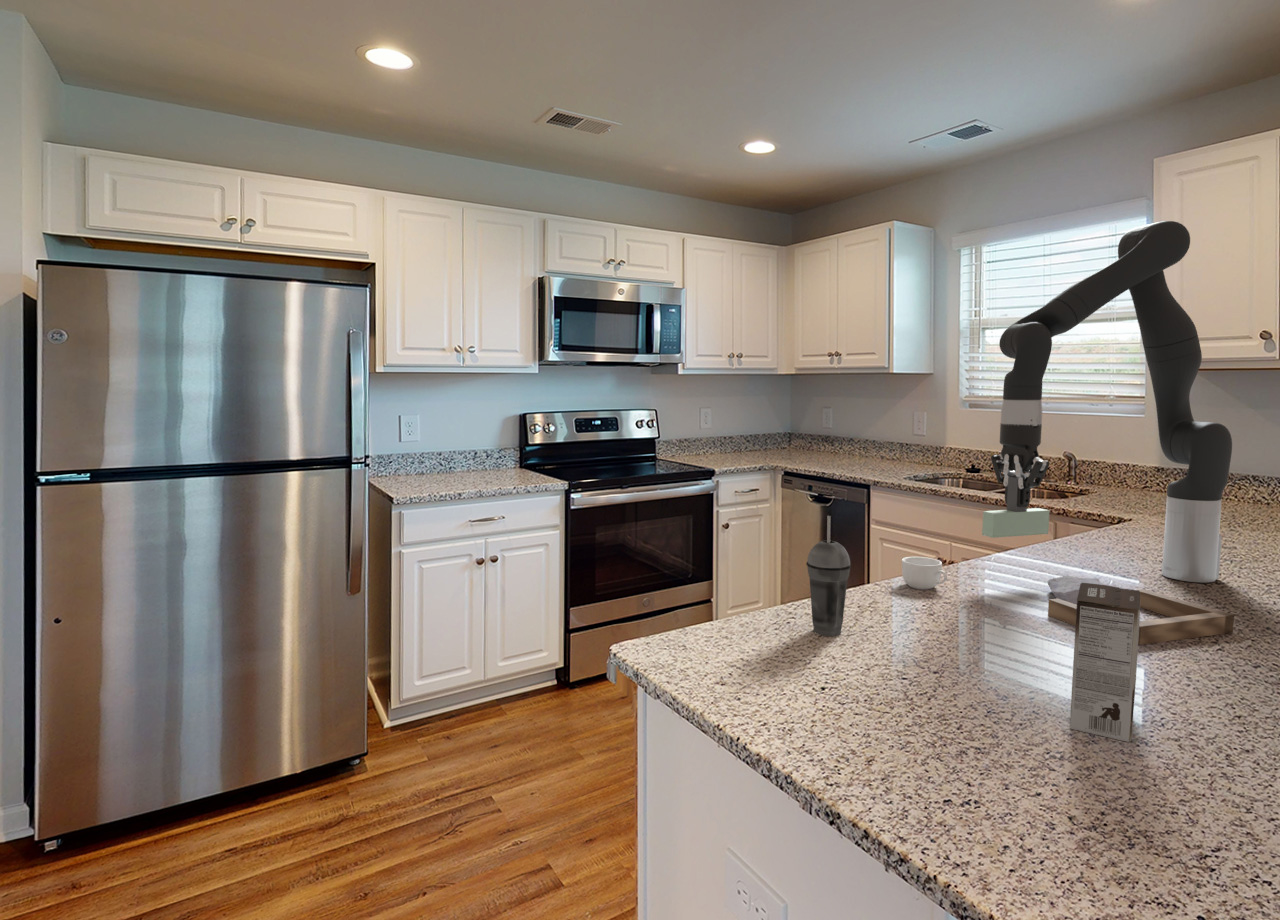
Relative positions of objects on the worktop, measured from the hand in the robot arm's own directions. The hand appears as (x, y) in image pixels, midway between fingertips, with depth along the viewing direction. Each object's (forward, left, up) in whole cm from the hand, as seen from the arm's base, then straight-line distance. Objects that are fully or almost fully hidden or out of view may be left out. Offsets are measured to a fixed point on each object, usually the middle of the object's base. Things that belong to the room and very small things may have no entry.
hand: (1016, 505), depth 151 cm
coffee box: (+38, +55, -17) cm, 69 cm away
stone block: (-3, +13, -17) cm, 22 cm away
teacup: (+20, -2, -17) cm, 26 cm away
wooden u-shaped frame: (0, +27, -16) cm, 32 cm away
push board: (0, 0, -6) cm, 6 cm away
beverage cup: (+53, +16, -17) cm, 58 cm away
